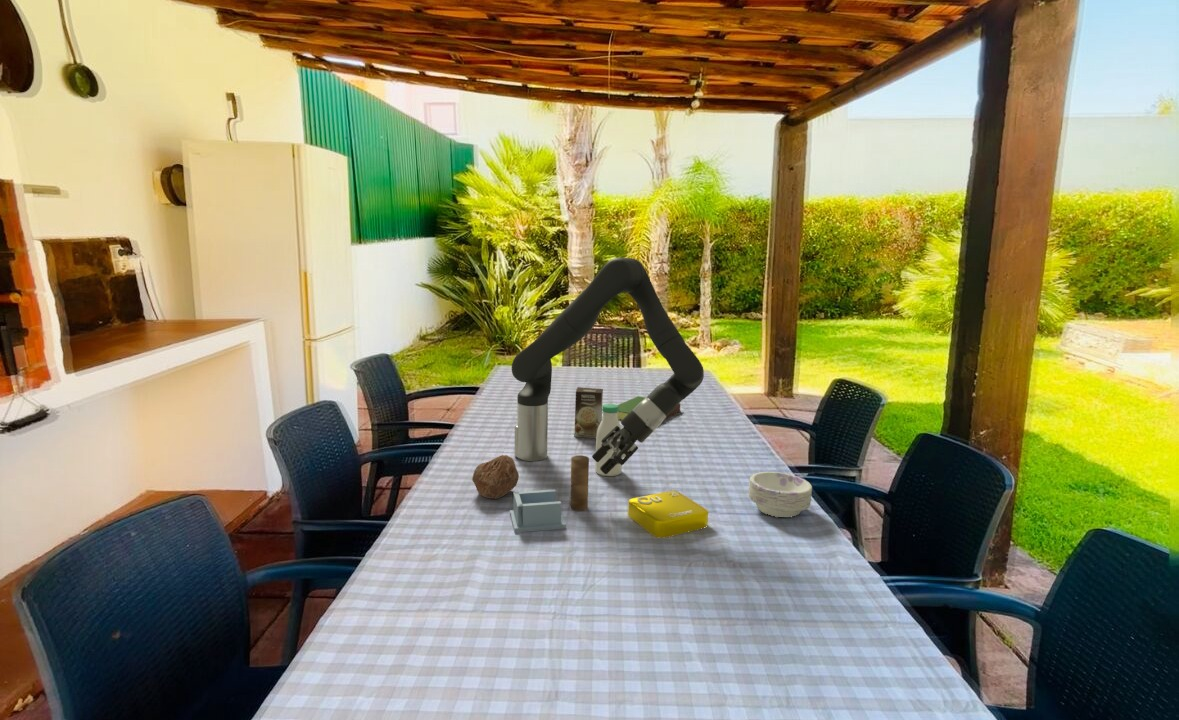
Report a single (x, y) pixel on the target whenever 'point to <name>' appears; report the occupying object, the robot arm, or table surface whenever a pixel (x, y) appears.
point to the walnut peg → (579, 483)
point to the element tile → (667, 513)
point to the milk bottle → (605, 428)
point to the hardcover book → (631, 404)
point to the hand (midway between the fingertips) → (598, 465)
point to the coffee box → (588, 411)
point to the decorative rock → (496, 477)
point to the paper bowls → (780, 493)
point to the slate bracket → (536, 511)
